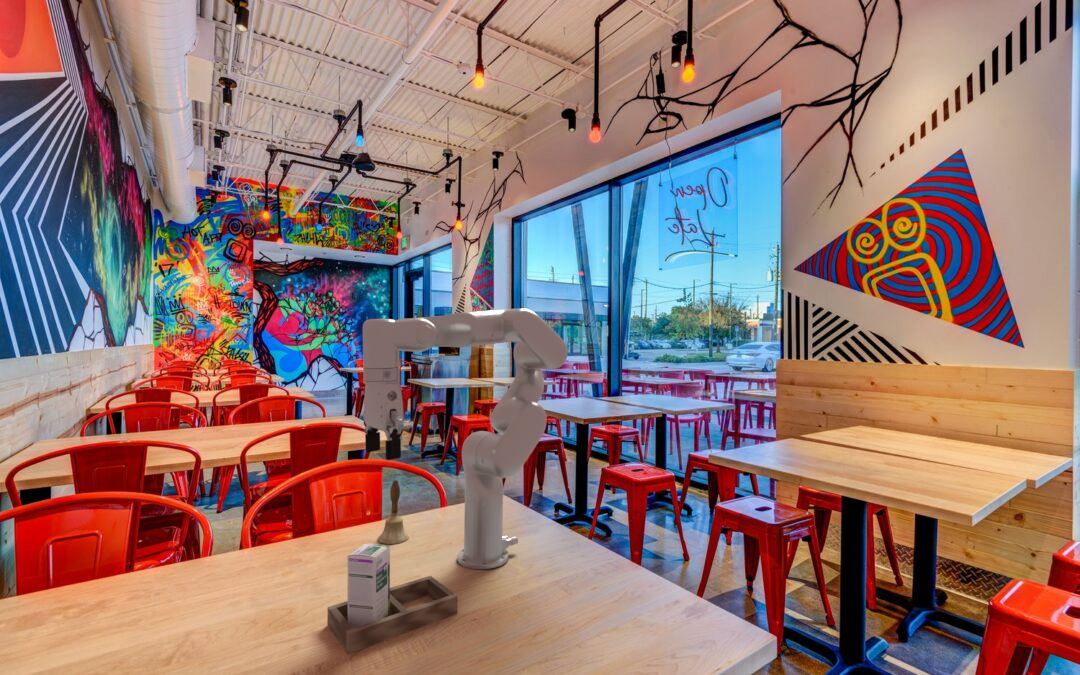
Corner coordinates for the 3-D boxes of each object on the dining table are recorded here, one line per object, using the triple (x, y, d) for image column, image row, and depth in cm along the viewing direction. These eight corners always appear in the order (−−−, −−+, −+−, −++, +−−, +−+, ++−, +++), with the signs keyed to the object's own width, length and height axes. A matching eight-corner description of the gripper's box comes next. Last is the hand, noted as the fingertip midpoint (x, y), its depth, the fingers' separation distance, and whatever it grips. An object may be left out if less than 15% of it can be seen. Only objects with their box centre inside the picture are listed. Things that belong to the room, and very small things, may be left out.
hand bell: (410, 532, 146) (411, 475, 146) (408, 543, 138) (408, 483, 138) (379, 533, 145) (380, 476, 145) (375, 545, 137) (376, 484, 137)
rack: (430, 591, 112) (430, 575, 112) (457, 613, 103) (457, 596, 103) (327, 625, 98) (327, 607, 98) (348, 654, 90) (348, 633, 90)
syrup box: (375, 636, 94) (376, 556, 95) (345, 632, 96) (347, 553, 96) (390, 620, 100) (391, 544, 100) (362, 616, 101) (363, 541, 101)
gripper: (417, 377, 108) (418, 458, 108) (380, 372, 121) (381, 445, 121) (383, 379, 103) (384, 465, 103) (348, 374, 116) (349, 451, 116)
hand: (382, 454), depth 112 cm, fingers open, 9 cm apart
